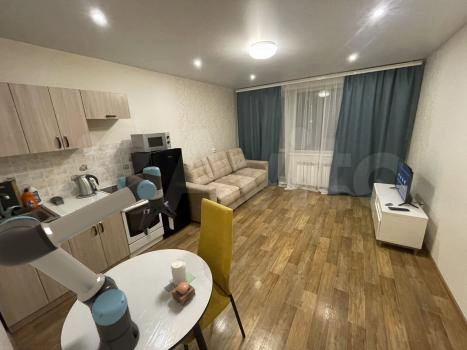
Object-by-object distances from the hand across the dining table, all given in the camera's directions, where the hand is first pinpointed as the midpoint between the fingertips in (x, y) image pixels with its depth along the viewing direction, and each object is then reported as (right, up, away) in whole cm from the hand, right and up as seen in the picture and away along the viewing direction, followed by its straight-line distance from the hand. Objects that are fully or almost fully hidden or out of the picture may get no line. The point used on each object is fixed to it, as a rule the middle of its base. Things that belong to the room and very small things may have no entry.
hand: (161, 233), depth 104 cm
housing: (+13, -34, 0) cm, 36 cm away
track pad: (+3, -32, +6) cm, 33 cm away
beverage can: (+8, -31, +10) cm, 34 cm away
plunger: (+13, -33, -1) cm, 35 cm away
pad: (+9, -31, +11) cm, 34 cm away
